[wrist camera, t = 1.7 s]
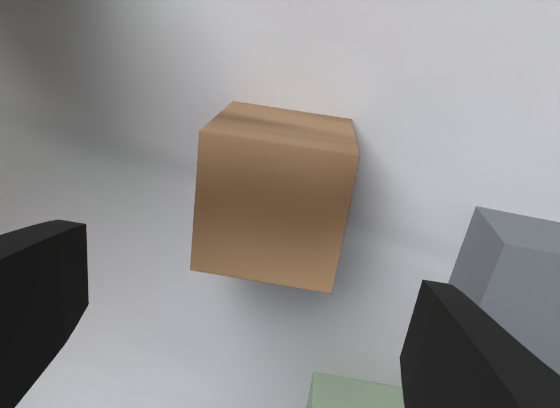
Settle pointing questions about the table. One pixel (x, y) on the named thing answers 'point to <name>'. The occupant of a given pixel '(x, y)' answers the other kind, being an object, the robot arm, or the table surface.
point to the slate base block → (515, 277)
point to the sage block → (352, 393)
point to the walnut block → (273, 195)
